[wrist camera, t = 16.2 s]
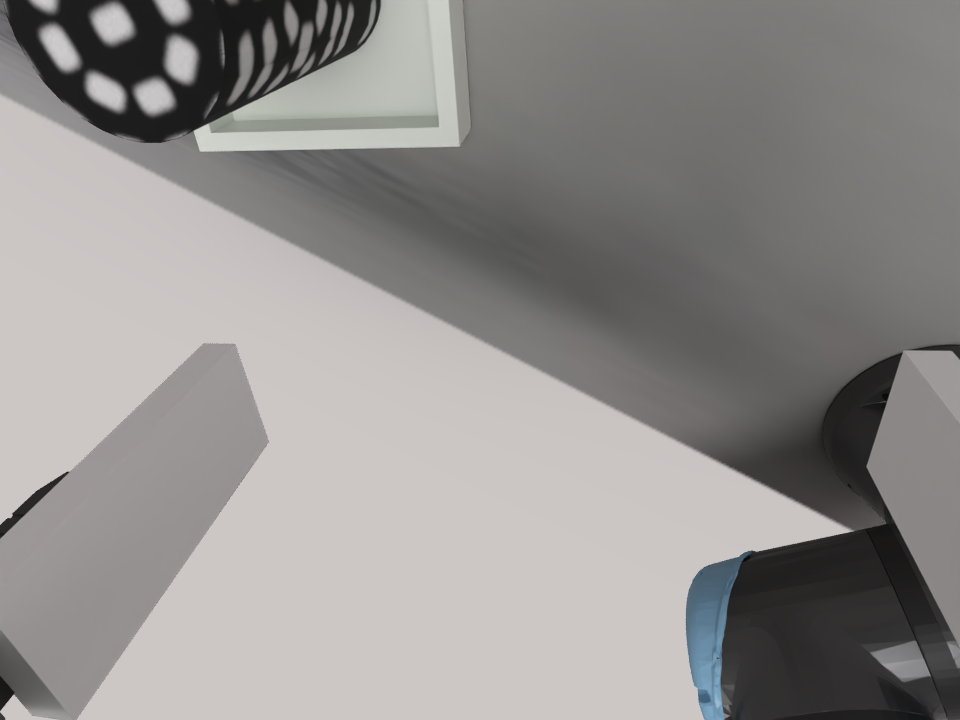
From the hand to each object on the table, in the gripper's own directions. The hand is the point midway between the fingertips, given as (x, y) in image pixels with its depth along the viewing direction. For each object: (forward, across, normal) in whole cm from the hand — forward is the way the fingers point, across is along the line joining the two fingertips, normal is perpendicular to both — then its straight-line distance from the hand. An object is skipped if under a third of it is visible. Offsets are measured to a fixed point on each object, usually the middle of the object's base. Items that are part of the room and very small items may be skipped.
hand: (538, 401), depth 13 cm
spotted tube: (+32, +16, -8) cm, 37 cm away
